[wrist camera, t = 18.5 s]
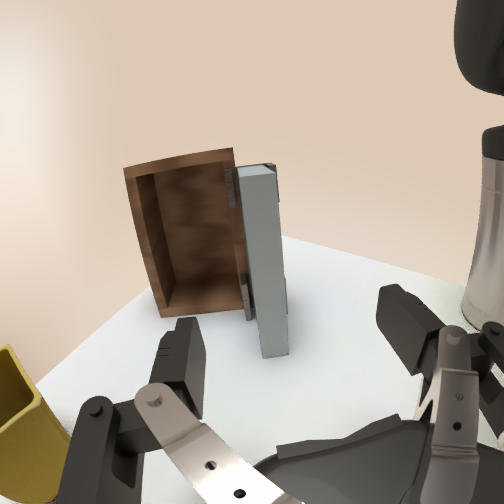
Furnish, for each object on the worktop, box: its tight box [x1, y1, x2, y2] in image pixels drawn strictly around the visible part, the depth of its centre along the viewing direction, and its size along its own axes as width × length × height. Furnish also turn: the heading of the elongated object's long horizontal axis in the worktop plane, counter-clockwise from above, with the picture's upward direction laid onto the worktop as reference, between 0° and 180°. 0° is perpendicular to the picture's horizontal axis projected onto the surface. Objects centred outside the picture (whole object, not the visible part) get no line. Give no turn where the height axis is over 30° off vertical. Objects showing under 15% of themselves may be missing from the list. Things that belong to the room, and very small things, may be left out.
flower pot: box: [0, 344, 71, 504], centre depth 9 cm, size 9×9×9 cm
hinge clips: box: [225, 163, 288, 320], centre depth 28 cm, size 5×3×16 cm
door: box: [237, 165, 289, 358], centre depth 25 cm, size 2×8×16 cm, turn 4°
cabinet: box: [123, 148, 253, 317], centre depth 32 cm, size 11×8×18 cm
